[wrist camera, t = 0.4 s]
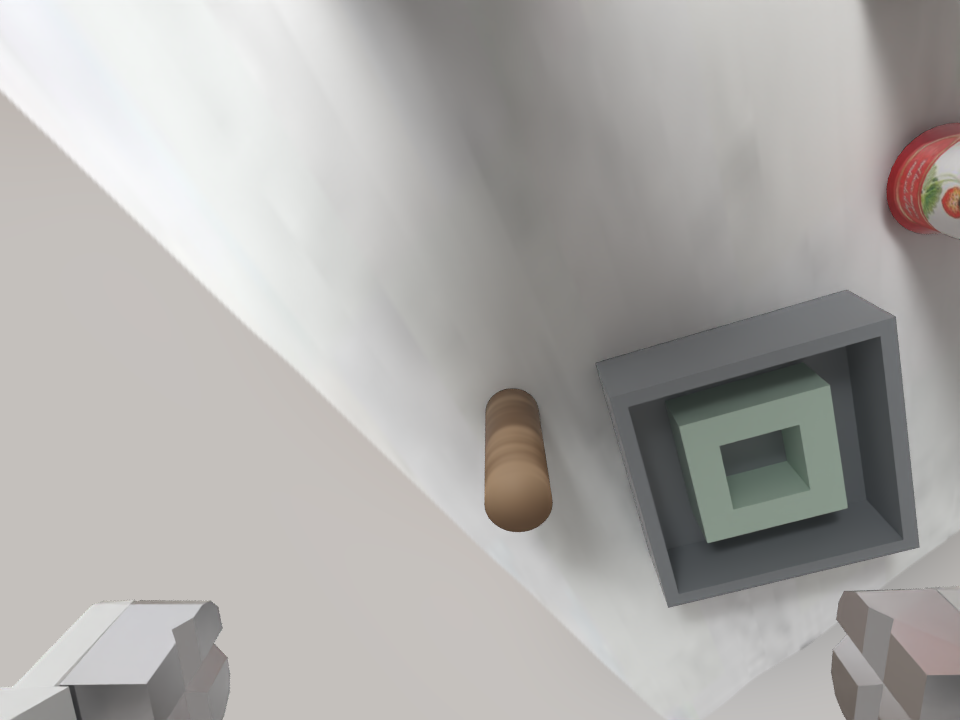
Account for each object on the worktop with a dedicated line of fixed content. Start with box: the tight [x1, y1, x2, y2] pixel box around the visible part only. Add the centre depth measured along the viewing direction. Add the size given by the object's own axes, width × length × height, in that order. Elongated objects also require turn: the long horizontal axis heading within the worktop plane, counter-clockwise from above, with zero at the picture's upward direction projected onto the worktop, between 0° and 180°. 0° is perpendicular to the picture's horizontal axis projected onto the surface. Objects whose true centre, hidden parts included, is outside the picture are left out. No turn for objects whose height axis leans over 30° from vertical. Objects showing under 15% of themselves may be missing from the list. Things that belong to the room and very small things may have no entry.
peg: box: [484, 389, 553, 532], centre depth 45 cm, size 4×4×12 cm
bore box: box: [596, 290, 919, 608], centre depth 48 cm, size 18×18×6 cm
